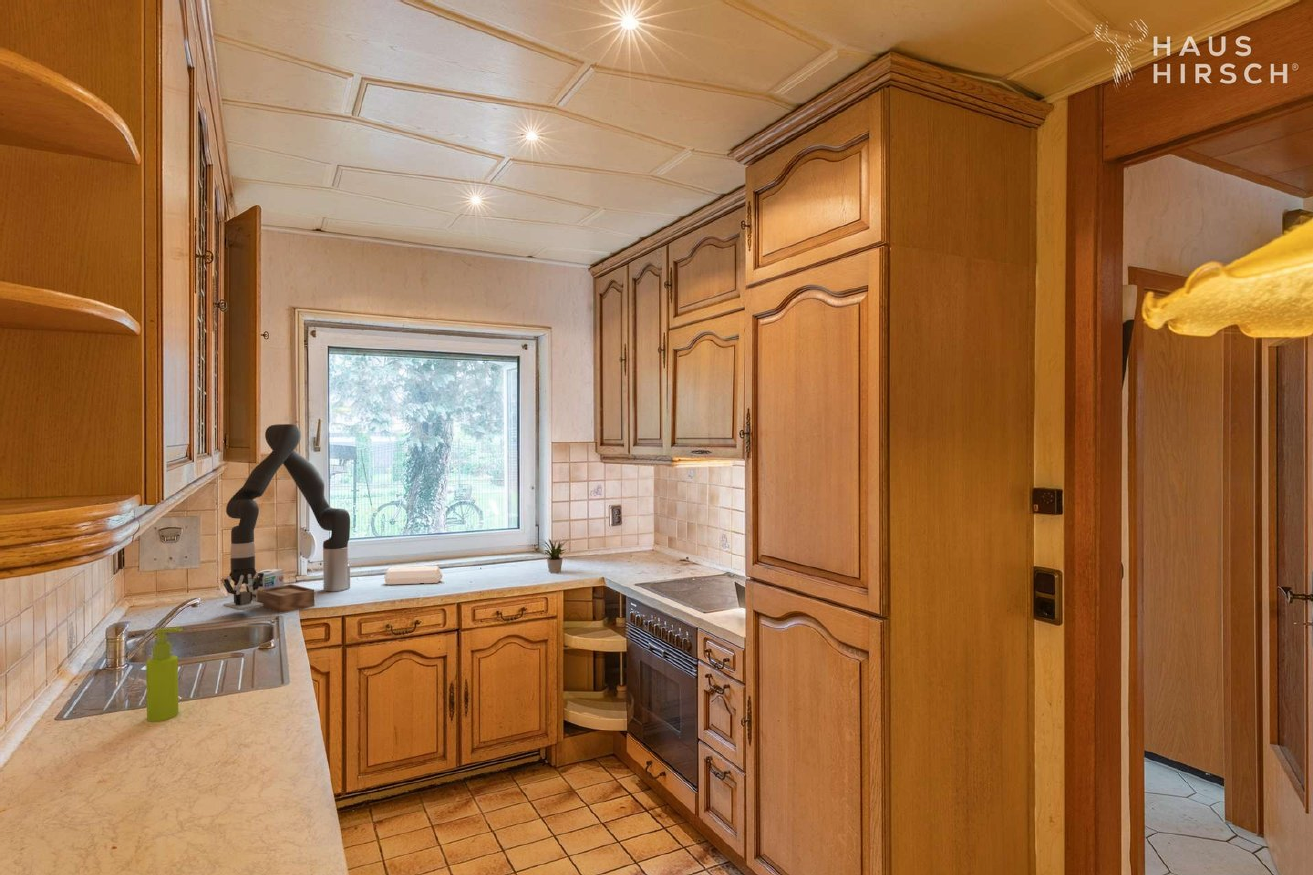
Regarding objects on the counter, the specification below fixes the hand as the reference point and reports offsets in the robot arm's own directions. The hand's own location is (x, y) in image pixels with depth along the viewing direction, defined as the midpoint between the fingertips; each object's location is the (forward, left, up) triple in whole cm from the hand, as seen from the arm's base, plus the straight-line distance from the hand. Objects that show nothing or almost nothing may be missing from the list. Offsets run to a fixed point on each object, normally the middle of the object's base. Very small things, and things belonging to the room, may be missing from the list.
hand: (243, 603), depth 250 cm
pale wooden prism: (-67, +5, -5) cm, 67 cm away
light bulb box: (-17, -18, -4) cm, 25 cm away
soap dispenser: (+53, +80, -4) cm, 96 cm away
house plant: (-116, +39, -4) cm, 123 cm away
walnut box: (-15, 0, -4) cm, 16 cm away
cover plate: (0, 0, -1) cm, 1 cm away
